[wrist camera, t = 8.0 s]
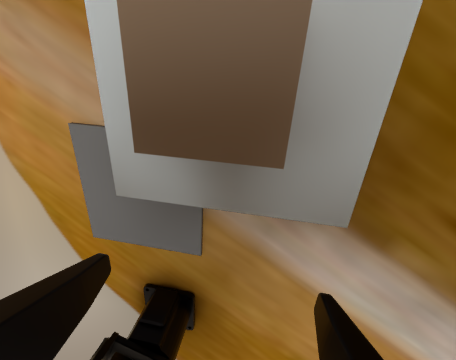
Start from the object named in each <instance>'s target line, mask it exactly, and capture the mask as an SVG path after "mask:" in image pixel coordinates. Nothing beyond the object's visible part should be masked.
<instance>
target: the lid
mask: <svg viewBox="0 0 456 360" xmlns="http://www.w3.org/2000/svg"><path fill="white" fill-rule="evenodd" d="M84 1H85V7H86V13H87V19H88V26H89V32H90V38H91V44H92V50H93V56H94V62H95V68H96V74H97V80H98V86H99V93H100V99H101V105H102V111H103V117H104V123H105V129H106V135H107V141H108V147H109V154H110V160H111V166H112V172H113V178H114V184H115V190H116V196H123V197H130V198H137V199H145V200H152V201H159V202H166V203H173V204H180V205H187V206H195V207H202V208H209V209H216V210H223V211H230V212H237V213H244V214H252V215H259V216H266V217H273V218H280V219H287V220H294V221H302V222H309V223H316V224H323V225H330V226H337V227H344V228H347V227H348V224H349V221H350V218H351V215H352V212H353V209H354V206H355V203H356V200H357V197H358V194H359V191H360V188H361V185H362V182H363V179H364V176H365V173H366V170H367V167H368V164H369V161H370V158H371V155H372V152H373V149H374V146H375V143H376V140H377V137H378V133H379V130H380V127H381V124H382V121H383V118H384V115H385V112H386V109H387V106H388V103H389V100H390V97H391V94H392V91H393V88H394V85H395V82H396V79H397V76H398V73H399V70H400V67H401V64H402V61H403V58H404V55H405V52H406V49H407V46H408V43H409V40H410V37H411V34H412V31H413V28H414V25H415V22H416V19H417V16H418V13H419V10H420V7H421V4H422V1H423V0H84Z"/></svg>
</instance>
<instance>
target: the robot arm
mask: <svg viewBox="0 0 456 360" xmlns="http://www.w3.org/2000/svg"><path fill="white" fill-rule="evenodd" d="M110 272H111V265H110V260H109V256H108V255H107V254H101V253H98V254H96V255H94V256H91V257H89V258H87V259H85V260H83V261H81V262H79V263H77V264H75V265H73V266H71V267H69V268H66V269H64V270H62V271H60V272H58V273H56V274H54V275H52V276H49V277H47V278H45V279H43V280H41V281H39V282H37V283H35V284H33V285H31V286H28V287H26V288H24V289H22V290H20V291H18V292H16V293H14V294H12V295H9V296H7V297H5V298H3V299H1V300H0V360H53V359H54V358H55V356H56V355H57V353H58V352H59V351H60V349H61V348H62V346H63V345H64V343H65V342H66V341H67V339H68V338H69V336H70V335H71V334H72V332H73V331H74V329H75V328H76V327H77V325H78V323H79V322H80V321H81V320H82V318H83V317H84V315H85V314H86V313H87V311H88V310H89V308H90V307H91V305H92V303H93V302H94V300H95V298H96V297H97V295H98V293H99V292H100V290H101V288H102V286H103V285H104V283H105V281H106V280H107V278H108V276H109V275H110ZM144 297H145V305H146V306H145V308H144V309H143V311H142V313H141V315H140V316H139V318H138V320H137V322H136V323H135V325H134V327H133V329H132V331H131V332H130V334H129V336H128V337H127V339H126V338H124V337H122V336H120V335H119V334H118V333H116V332H114V333H113V334H112V336H111V337H110V338H104V340H103V342H102V343H101V345H100V346H99V348H98V349H97V351H96V352H95V354H94V355H93V356H92V358H91V359H90V360H175V359H176V356H177V353H178V350H179V347H180V344H181V342H182V339H183V336H184V333H185V330H186V329H187V330H193V329H194V310H195V296H194V294H192V293H189V292H184V291H180V290H175V289H170V288H165V287H160V286H155V285H150V284H146V285H145V287H144ZM314 316H315V325H316V334H317V343H318V352H319V359H320V360H383V358H382V357H381V356H380V355H379V353H378V352H377V351H376V350H375V348H374V347H373V346H372V345H371V343H370V342H369V341H368V340H367V339H366V337H365V336H364V335H363V334H362V332H361V331H360V330H359V329H358V327H357V326H356V325H355V324H354V323H353V321H352V320H351V319H350V318H349V316H348V315H347V314H346V313H345V311H344V310H343V309H342V308H341V307H340V305H339V304H338V303H337V302H336V300H335V299H334V298H333V297H332V296H331V295H330V294H325V293H319V294H318V297H317V300H316V304H315V307H314Z"/></svg>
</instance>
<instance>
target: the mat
mask: <svg viewBox="0 0 456 360" xmlns="http://www.w3.org/2000/svg"><path fill="white" fill-rule="evenodd" d="M68 125H69V129H70V134H71V138H72V143H73V147H74V152H75V156H76V161H77V165H78V170H79V174H80V179H81V183H82V187H83V192H84V196H85V201H86V205H87V210H88V214H89V219H90V223H91V228H92V232H93V237H97V238H103V239H109V240H114V241H120V242H126V243H131V244H137V245H143V246H148V247H154V248H160V249H165V250H171V251H176V252H182V253H188V254H193V255H199V256H201V254H202V223H203V208H202V207H195V206H187V205H180V204H173V203H166V202H159V201H152V200H145V199H137V198H130V197H123V196H116V190H115V184H114V178H113V172H112V166H111V160H110V154H109V147H108V141H107V135H106V129H105V126H98V125H89V124H79V123H68Z"/></svg>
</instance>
